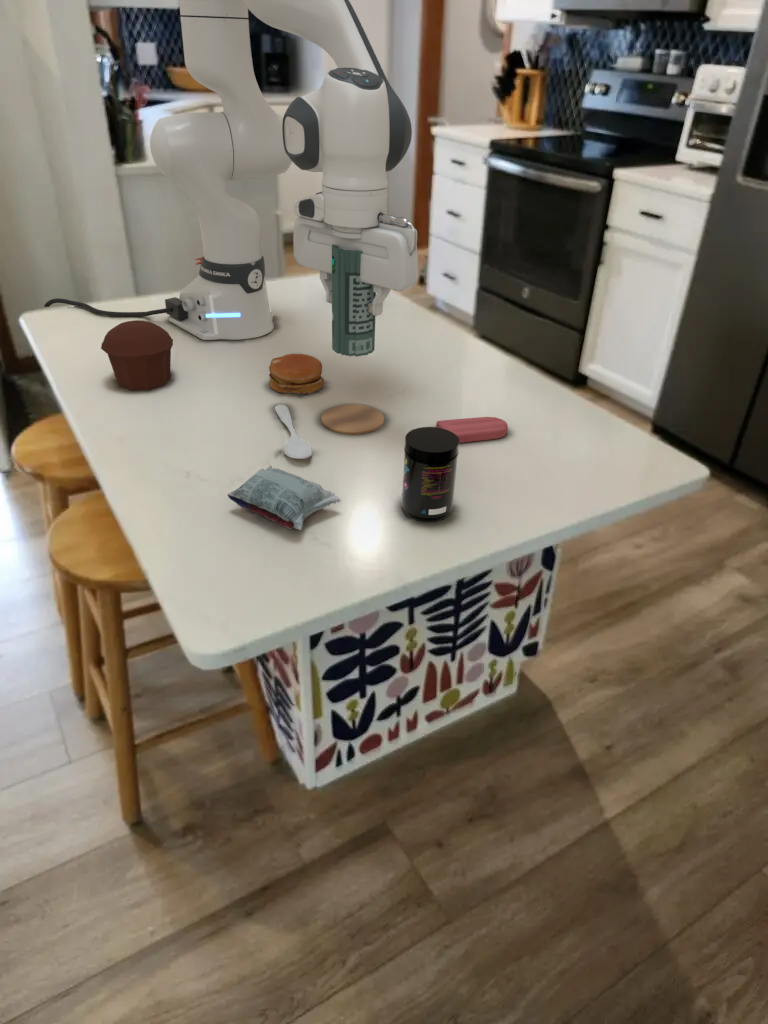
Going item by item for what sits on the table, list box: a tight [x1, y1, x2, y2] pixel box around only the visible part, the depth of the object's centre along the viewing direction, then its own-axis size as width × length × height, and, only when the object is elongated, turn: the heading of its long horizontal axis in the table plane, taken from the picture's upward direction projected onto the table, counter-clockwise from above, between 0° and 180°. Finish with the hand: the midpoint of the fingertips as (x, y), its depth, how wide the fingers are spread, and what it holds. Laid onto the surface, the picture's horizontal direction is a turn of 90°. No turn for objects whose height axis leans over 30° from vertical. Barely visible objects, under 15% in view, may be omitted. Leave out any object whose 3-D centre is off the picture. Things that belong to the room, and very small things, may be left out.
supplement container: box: [401, 426, 460, 523], centre depth 94 cm, size 7×7×10 cm
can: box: [331, 244, 377, 357], centre depth 108 cm, size 6×6×15 cm
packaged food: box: [227, 464, 341, 532], centre depth 94 cm, size 9×12×5 cm
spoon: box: [274, 404, 313, 460], centre depth 113 cm, size 4×21×2 cm, turn 16°
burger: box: [268, 353, 324, 395], centre depth 128 cm, size 10×9×5 cm
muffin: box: [100, 319, 174, 391], centre depth 126 cm, size 12×11×10 cm
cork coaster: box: [320, 403, 385, 435], centre depth 118 cm, size 10×10×1 cm
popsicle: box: [435, 416, 509, 444], centre depth 115 cm, size 5×2×15 cm
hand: (353, 308), depth 109 cm, fingers closed on can, 6 cm apart
